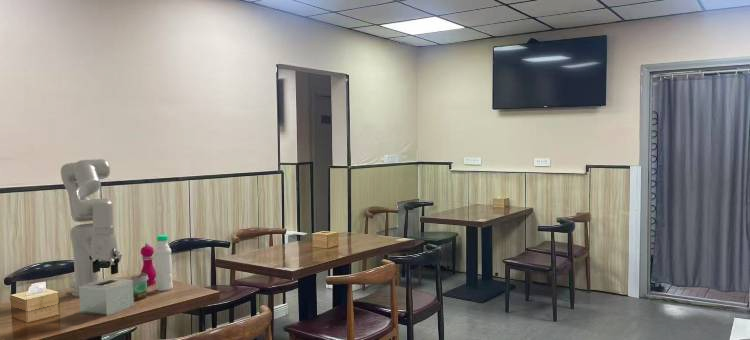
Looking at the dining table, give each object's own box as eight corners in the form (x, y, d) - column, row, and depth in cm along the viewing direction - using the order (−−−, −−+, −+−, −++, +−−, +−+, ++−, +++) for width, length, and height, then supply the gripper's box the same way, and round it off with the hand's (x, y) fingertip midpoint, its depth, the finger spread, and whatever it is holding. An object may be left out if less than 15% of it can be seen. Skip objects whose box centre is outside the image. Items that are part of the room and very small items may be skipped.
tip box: (80, 312, 230) (79, 285, 229) (108, 303, 243) (107, 277, 242) (106, 315, 225) (105, 288, 224) (133, 306, 238) (132, 279, 237)
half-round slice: (138, 302, 243) (137, 279, 242) (125, 302, 244) (124, 279, 243) (155, 295, 255) (154, 272, 254) (142, 294, 256) (141, 272, 256)
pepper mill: (151, 281, 281) (150, 241, 280) (159, 283, 276) (157, 242, 275) (137, 284, 275) (135, 243, 274) (145, 286, 271) (143, 244, 270)
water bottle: (174, 287, 268) (172, 234, 267) (170, 291, 261) (167, 236, 260) (159, 287, 268) (157, 234, 267) (154, 291, 261) (151, 237, 260)
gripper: (80, 231, 232) (82, 273, 233) (112, 233, 226) (114, 276, 227) (95, 228, 239) (97, 269, 240) (127, 230, 233) (129, 272, 234)
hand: (105, 272), depth 233 cm, fingers open, 9 cm apart
